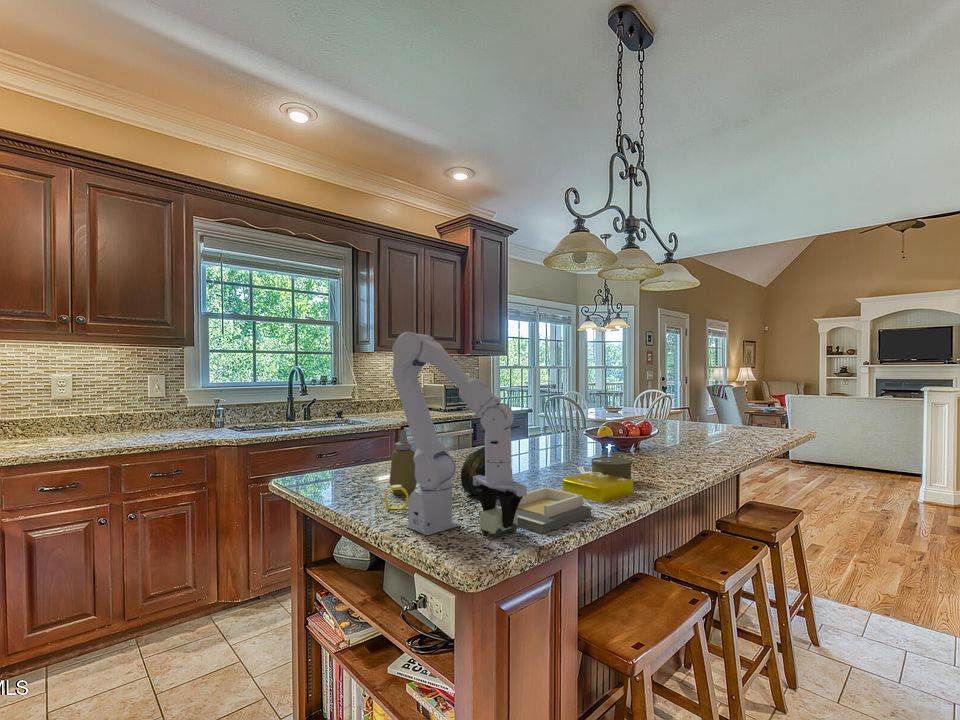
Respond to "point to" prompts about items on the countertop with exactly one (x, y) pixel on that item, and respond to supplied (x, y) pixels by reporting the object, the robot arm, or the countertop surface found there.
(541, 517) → the dock
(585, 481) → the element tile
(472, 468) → the squash
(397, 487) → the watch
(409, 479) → the squeeze bottle
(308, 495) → the countertop surface
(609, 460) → the can
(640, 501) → the countertop surface
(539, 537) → the countertop surface
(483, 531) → the upright pale green block
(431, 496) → the robot arm
